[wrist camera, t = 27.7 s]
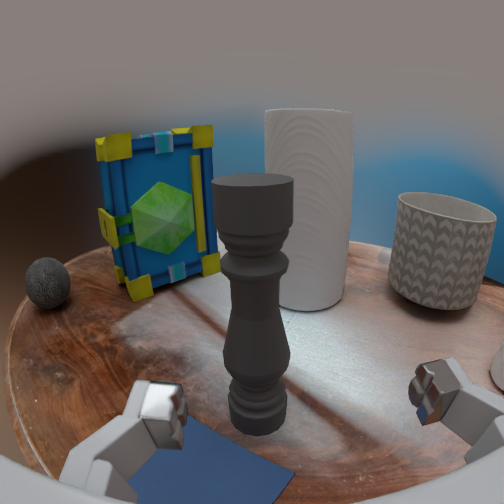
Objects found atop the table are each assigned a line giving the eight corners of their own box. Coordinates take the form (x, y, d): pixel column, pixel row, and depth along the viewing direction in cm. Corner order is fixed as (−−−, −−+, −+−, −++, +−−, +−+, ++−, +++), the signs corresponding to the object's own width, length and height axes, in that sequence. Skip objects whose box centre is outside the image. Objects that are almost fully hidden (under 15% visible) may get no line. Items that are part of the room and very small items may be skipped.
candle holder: (256, 445, 26) (248, 191, 16) (218, 412, 30) (189, 181, 21) (297, 413, 30) (315, 178, 20) (259, 386, 34) (254, 170, 24)
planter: (477, 333, 38) (508, 230, 31) (377, 312, 47) (394, 207, 40) (467, 283, 53) (484, 203, 46) (390, 268, 62) (401, 187, 55)
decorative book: (111, 281, 60) (88, 140, 48) (199, 253, 73) (190, 127, 62) (131, 310, 50) (103, 135, 38) (234, 272, 63) (228, 123, 51)
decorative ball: (33, 323, 44) (15, 276, 40) (35, 300, 52) (21, 257, 48) (77, 310, 49) (63, 262, 45) (74, 288, 57) (62, 245, 53)
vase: (353, 285, 56) (365, 116, 44) (324, 324, 45) (336, 107, 33) (289, 268, 64) (290, 114, 52) (249, 298, 53) (243, 110, 41)
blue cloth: (219, 563, 13) (218, 563, 13) (109, 476, 21) (107, 475, 21) (295, 474, 22) (295, 472, 22) (185, 414, 30) (185, 412, 30)
